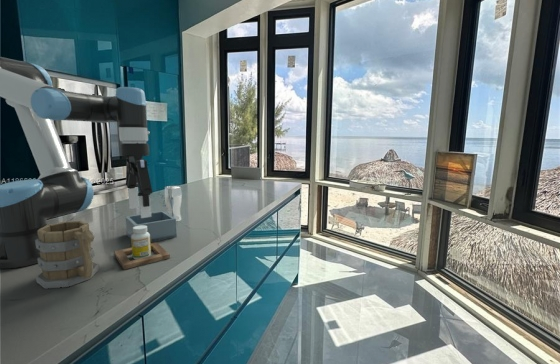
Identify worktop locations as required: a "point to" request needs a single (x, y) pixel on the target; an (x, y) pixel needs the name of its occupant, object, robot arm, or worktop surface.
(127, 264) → the socket frame
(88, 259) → the tankard
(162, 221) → the bin
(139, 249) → the supplement bottle
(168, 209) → the beer glass
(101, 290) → the worktop surface
